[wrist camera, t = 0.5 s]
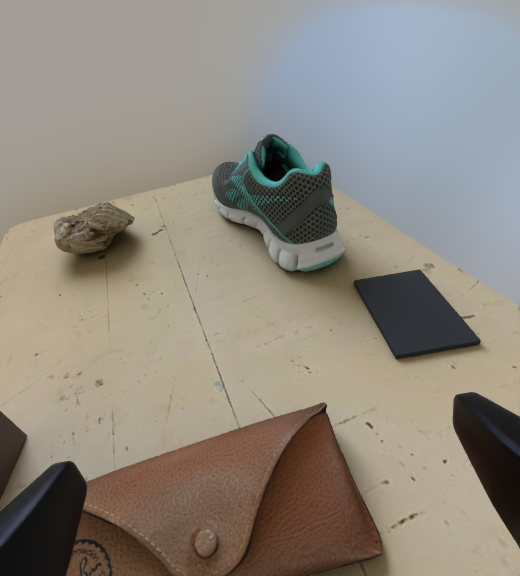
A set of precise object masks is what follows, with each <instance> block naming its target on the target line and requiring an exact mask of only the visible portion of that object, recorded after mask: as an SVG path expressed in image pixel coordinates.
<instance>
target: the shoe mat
mask: <svg viewBox="0 0 520 576" xmlns="http://www.w3.org/2000/svg"><path fill="white" fill-rule="evenodd" d="M354 285H355V287H356V289H357V290H358V292H359V294H360V296H361V298H362V299H363V301H364V303H365V305H366V306H367V308H368V310H369V312H370V314H371V315H372V317H373V319H374V321H375V323H376V324H377V326H378V328H379V330H380V331H381V333H382V335H383V337H384V339H385V340H386V342H387V344H388V346H389V347H390V349H391V351H392V353H393V355H394V356H395V358H396V359H399V358H404V357H410V356H416V355H421V354H427V353H433V352H438V351H444V350H450V349H456V348H461V347H467V346H473V345H478V344H479V343H480V341H481V340H480V339H479V338H478V337H477V336H476V334H475V333H474V332H473V331H472V330H471V329H470V327H469V326H468V325H467V324H466V323H465V322H464V320H463V319H462V318H461V317H460V316H459V314H458V313H457V312H456V311H455V310H454V309H453V307H452V306H451V305H450V304H449V303H448V302H447V300H446V299H445V298H444V297H443V296H442V295H441V293H440V292H439V291H438V290H437V289H436V288H435V286H434V285H433V284H432V283H431V282H430V281H429V279H428V278H427V277H426V276H425V275H424V274H423V272H422V271H421V270H414V271H408V272H402V273H396V274H390V275H384V276H378V277H372V278H367V279H361V280H355V281H354Z"/></svg>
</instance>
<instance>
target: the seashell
mask: <svg viewBox="0 0 520 576" xmlns="http://www.w3.org/2000/svg"><path fill="white" fill-rule="evenodd" d="M133 221H134V217H133V216H131V215H130V214H129V213H127V212H126V211H124V210H121V209H119V208H118V207H116V206H114V205H112V204H110V203H108V202H107V203H99V205H96V206H94V207H90V208H88V209H87V210H85V211H82V213H79V214H78V215H77V216H75V215H72V216H68V217H61V218H60V219H58V220H56V222H55V223H54V233H55V243H56V245H57V247H58V248H59V249H61V250H62V251H64V252H68V253H74V254H83V253H93V252H96V251H100V250H103V249H105V248H106V247H108V246H109V244H110V243H111V242H112V238H113V237H114V236H115V235H116V234H118V233H119V232H120V231H122V230H123V229H124V228H125V227H127V226H128V225H130V224H132V223H133Z"/></svg>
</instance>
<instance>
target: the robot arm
mask: <svg viewBox="0 0 520 576" xmlns="http://www.w3.org/2000/svg"><path fill="white" fill-rule="evenodd" d="M453 426H454V429H455V432H456V434H457V436H458V438H459V440H460V442H461V444H462V446H463V448H464V450H465V452H466V454H467V456H468V458H469V460H470V462H471V464H472V466H473V468H474V470H475V472H476V474H477V476H478V478H479V480H480V481H481V483H482V485H483V487H484V489H485V491H486V493H487V495H488V497H489V499H490V501H491V503H492V504H493V506H494V508H495V509H496V511H497V513H498V514H499V516H500V518H501V519H502V521H503V522H504V524H505V525H506V527H507V529H508V530H509V532H510V533H511V535H512V537H513V538H514V540H515V541H516V543H517V545H518V546H519V548H520V417H519V416H518V415H516V414H514V413H512V412H510V411H509V410H507V409H505V408H503V407H501V406H499V405H498V404H496V403H494V402H492V401H490V400H488V399H487V398H485V397H483V396H481V395H479V394H477V393H474V392H469V393H464V394H458V395H456V396H455V397H454V402H453ZM86 495H87V483H86V481H85V479H84V478H83V476H82V475H81V473H80V471H79V470H78V468H77V467H76V465H75V464H74V463H73V462H71V461H66V462H60V463H55V464H53V465H52V466H50V467H49V468H48V469H47V470H46V471H45V472H44V473H42V474H41V475H40V476H39V477H38V478H37V479H36V480H35V481H34V482H33V483H31V484H30V485H29V486H28V487H27V488H26V489H25V490H24V491H23V492H21V493H20V494H19V495H18V496H17V497H16V498H15V499H14V500H13V501H12V502H10V503H9V504H8V505H7V506H6V507H5V508H4V509H3V510H2V511H0V576H66V574H67V571H68V567H69V564H70V560H71V556H72V553H73V549H74V545H75V540H76V536H77V532H78V528H79V524H80V520H81V516H82V512H83V508H84V503H85V499H86Z"/></svg>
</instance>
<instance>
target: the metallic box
mask: <svg viewBox="0 0 520 576" xmlns="http://www.w3.org/2000/svg"><path fill="white" fill-rule="evenodd" d="M26 437H27V435H26V434H25V433H24V432H23V431H22V430H21V429H19V428H18V427H17V426H16V425H15V424H14V423H13V422H12V421H11V420H10V419H9V418H7V417H6V416H5V415H4V414H3V413H2V412H1V411H0V498H1V496H2V494H3V491H4V489H5V486H6V484H7V482H8V479H9V477H10V475H11V472H12V470H13V468H14V465H15V463H16V461H17V458H18V456H19V453H20V451H21V449H22V446H23V444H24V442H25V439H26Z"/></svg>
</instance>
